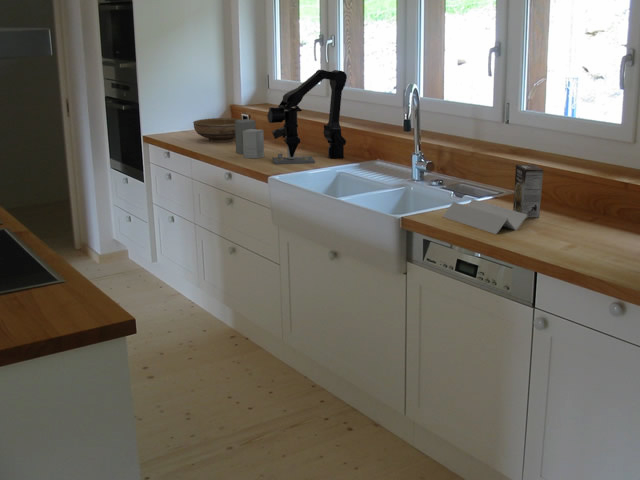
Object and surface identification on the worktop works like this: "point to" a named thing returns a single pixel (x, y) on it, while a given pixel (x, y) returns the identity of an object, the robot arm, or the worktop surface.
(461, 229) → the worktop surface
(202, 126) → the wooden bowl
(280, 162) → the plate
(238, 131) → the skincare box
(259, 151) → the supplement box
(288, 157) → the block
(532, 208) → the coffee box
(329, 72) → the robot arm
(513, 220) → the z bracket
